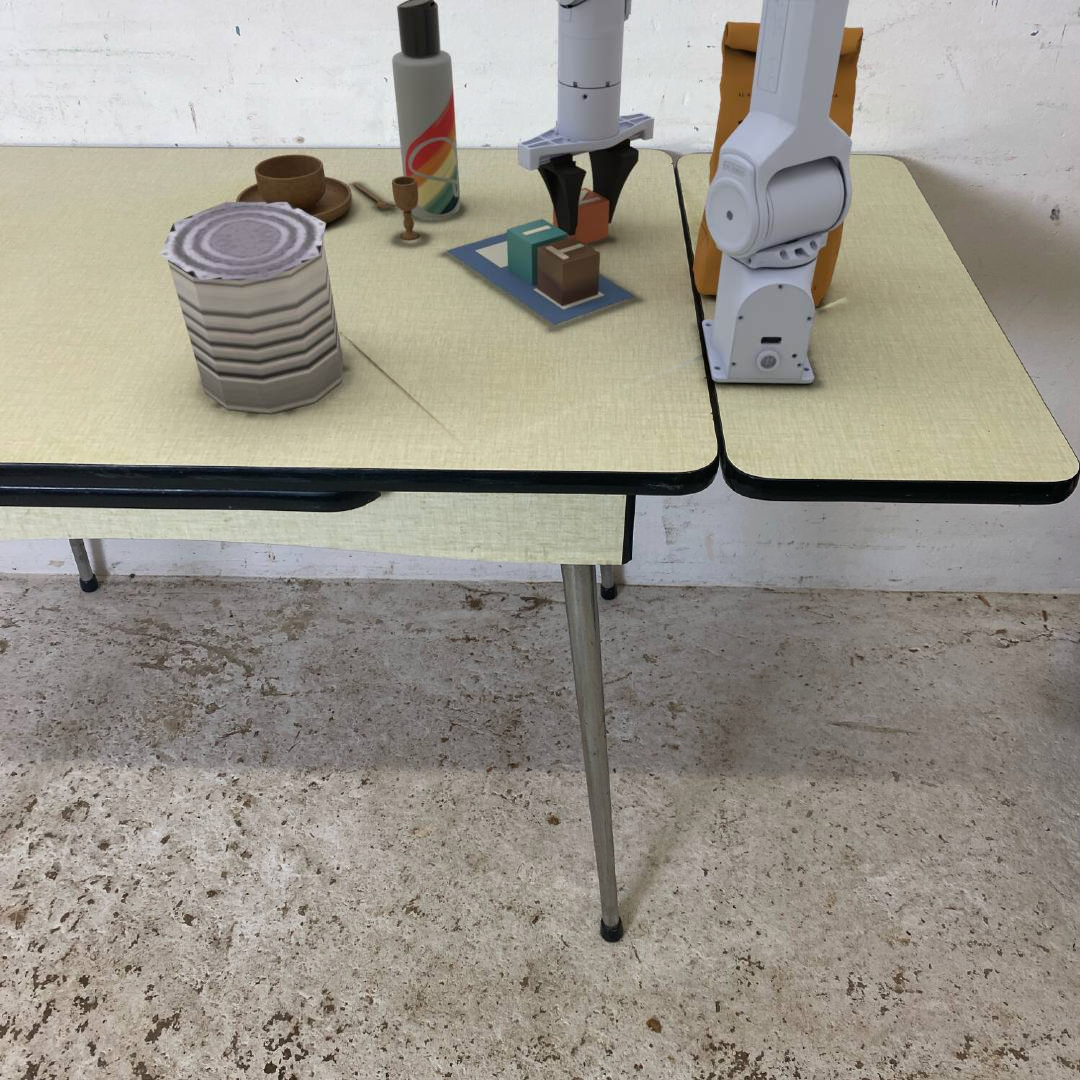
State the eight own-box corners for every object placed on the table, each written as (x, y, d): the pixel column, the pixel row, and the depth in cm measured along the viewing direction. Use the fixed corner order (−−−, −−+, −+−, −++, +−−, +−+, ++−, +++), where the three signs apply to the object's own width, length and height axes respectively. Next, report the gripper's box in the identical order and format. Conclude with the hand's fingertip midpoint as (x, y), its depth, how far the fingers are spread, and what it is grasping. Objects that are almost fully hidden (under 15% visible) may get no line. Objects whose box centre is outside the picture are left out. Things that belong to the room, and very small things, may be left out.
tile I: (567, 274, 88) (567, 232, 86) (531, 285, 87) (531, 243, 84) (542, 259, 91) (542, 217, 88) (507, 269, 89) (506, 227, 86)
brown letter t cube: (598, 294, 85) (600, 251, 83) (562, 306, 84) (562, 262, 81) (572, 277, 88) (573, 235, 85) (537, 289, 86) (536, 246, 83)
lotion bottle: (452, 223, 98) (437, 7, 85) (400, 219, 99) (377, 4, 86) (466, 202, 102) (454, -8, 89) (416, 198, 103) (396, -10, 90)
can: (347, 334, 81) (326, 195, 73) (346, 408, 72) (321, 260, 64) (210, 344, 80) (173, 204, 72) (193, 420, 71) (149, 272, 63)
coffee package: (826, 322, 82) (886, 45, 68) (683, 305, 85) (712, 34, 70) (830, 272, 89) (885, 12, 75) (698, 257, 92) (727, 3, 77)
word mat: (635, 299, 85) (635, 295, 85) (554, 328, 82) (554, 324, 81) (522, 231, 96) (522, 227, 96) (446, 254, 93) (446, 250, 92)
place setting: (351, 177, 108) (344, 123, 104) (434, 239, 95) (429, 181, 91) (200, 211, 101) (186, 154, 97) (267, 283, 88) (254, 222, 84)
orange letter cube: (608, 239, 95) (609, 199, 92) (575, 249, 93) (576, 208, 90) (584, 225, 97) (585, 186, 95) (552, 235, 96) (552, 195, 93)
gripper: (624, 55, 90) (617, 196, 99) (497, 82, 84) (502, 230, 93) (673, 73, 86) (660, 218, 95) (543, 103, 80) (543, 255, 89)
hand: (585, 226), depth 94 cm, fingers closed on orange letter cube, 4 cm apart
